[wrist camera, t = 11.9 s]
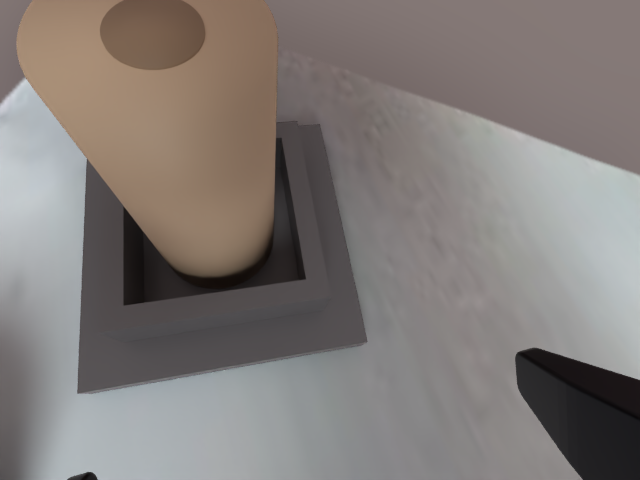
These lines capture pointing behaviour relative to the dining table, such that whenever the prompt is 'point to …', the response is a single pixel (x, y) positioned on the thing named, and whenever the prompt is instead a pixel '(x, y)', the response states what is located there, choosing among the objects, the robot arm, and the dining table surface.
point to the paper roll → (170, 118)
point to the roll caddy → (217, 304)
